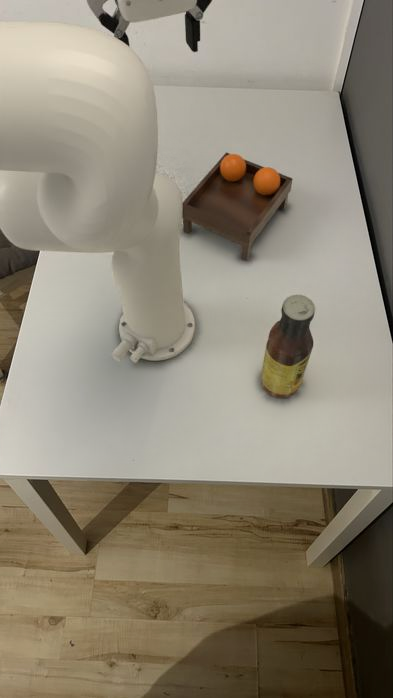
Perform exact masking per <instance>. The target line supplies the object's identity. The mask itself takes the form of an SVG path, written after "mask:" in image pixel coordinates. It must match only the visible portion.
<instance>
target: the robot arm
mask: <svg viewBox="0 0 393 698" xmlns="http://www.w3.org/2000/svg"><path fill="white" fill-rule="evenodd" d="M107 1H109V0H86V3H87V5H88V8H89V9H90V10H91V12H92V13H93V15H94V16H95V17H96V19H97V20H98V21H99V23H100V24H101V26H102V27H104V28H105V29H107V30H108V31H109V32H110V33H112V34H113V35H112V34H109V33H107V32H105V31H102V30H99V29H96V28H92V27H89V26H88V27H87V26H84V25H80V24H74V23H67V22H54V21H21V20H20V21H19V20H18V21H17V20H16V21H15V20H0V230H1V232H2V234H3V235H4V236H5V237H6V239H7V240H8V241H9V242H10V243H11V244H12V245H14V246H15V247H17V248H18V249H19V248H20V249H22V250H26V251H39V252H56V253H57V252H59V253H81V254H84V253H85V254H103V253H113V254H112V258H111V266H110V267H111V273H112V277H113V281H114V283H115V288H116V289H117V290H116V291H117V294H118V299H119V302H120V305H121V309H122V312H123V313H122V315H121V317H120V319H119V324H118V332H119V337H120V339H121V342H120V343H119V345H117V346H116V348H115V349H114V350H113V351H112V353H111V354H110V357H111V358H112V359H113V360H114V361H116V362H118V363H122V361H123V360H124V358H125V357H126V356H127V355H128V352H129V353H130V354H131V355H130V356H129V359H130V360H131V361H132V362H133V363H134V364H135V363H136V364H137V363H138V362H139V360H140V359H142V360H146V361H152V362H153V361H154V362H155V361H165V360H169V359H171V358H174V357H176V356H178V355H179V354H181V353H182V352H183V351H185V350H186V349H187V348H188V346H189V345H190V344H191V342H192V340H193V338H194V336H195V331H196V323H195V322H196V321H195V316H194V314H193V312H192V310H191V309H190V307H189V306H188V305H187V304H186V303H185V302H184V301H185V300H184V291H183V290H184V289H183V280H182V267H181V258H180V257H181V256H180V254H181V253H180V243H181V242H180V241H181V229H182V224H183V218H182V214H183V202H184V200H183V194H182V191H181V189H180V186H179V185H178V184H177V182H176V181H175V180H174V179H173V178H172V177H170V176H168V175H167V174H165V173H162V172H159V171H157V165H158V148H159V133H158V132H159V123H158V122H159V120H158V109H157V99H156V94H155V88H154V84H153V81H152V78H151V76H150V74H149V70H148V68H147V67H146V65H145V63H144V62H143V61H142V59H141V57H140V56H139V55H138V54H137V53H136V51H134V49H132V47H130V40H129V36H128V34H127V32H126V31H127V29H128V28H129V25H130V24H131V23H141V22H146V21H151V20H156V19H162V18H167V17H170V16H175V15H178V14H183V13H184V25H185V26H184V27H185V29H184V30H185V31H184V32H185V43H186V44H187V46H188V48H189V49H190V50H191V52H193V53H198V52H199V44H198V43H199V42H201V21H202V20H203V18H204V13H205V12H206V10H207V9H208V7H209V6H210V5H211V3H212V1H213V0H114V4H115V6H116V8H115V10H114V12H113V13H112V15H111V14H110V13H108V12H107V11H105V10H104V8H103V6H104V5H105V4H106V3H107Z"/></svg>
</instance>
